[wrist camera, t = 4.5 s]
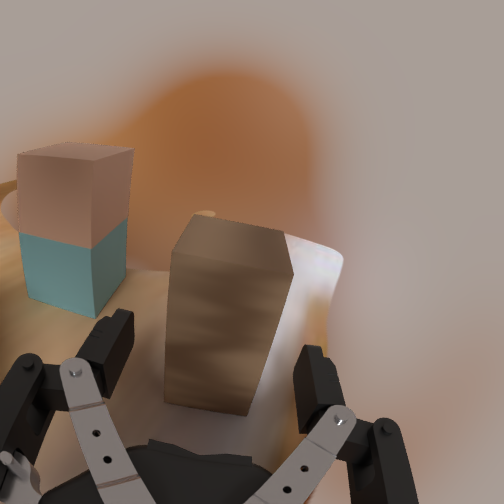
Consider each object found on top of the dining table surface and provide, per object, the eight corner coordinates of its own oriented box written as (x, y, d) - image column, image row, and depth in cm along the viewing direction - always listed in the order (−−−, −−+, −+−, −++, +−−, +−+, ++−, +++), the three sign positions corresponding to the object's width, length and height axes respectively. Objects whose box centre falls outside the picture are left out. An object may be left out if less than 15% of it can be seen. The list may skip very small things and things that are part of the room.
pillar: (164, 402, 16) (171, 251, 12) (179, 348, 21) (194, 214, 17) (246, 416, 16) (293, 274, 12) (248, 360, 21) (283, 231, 17)
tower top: (19, 232, 18) (17, 154, 16) (64, 205, 24) (66, 142, 22) (91, 249, 19) (93, 160, 16) (128, 216, 25) (134, 148, 23)
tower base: (28, 297, 20) (18, 232, 18) (66, 261, 27) (63, 205, 24) (95, 319, 21) (90, 249, 18) (125, 276, 27) (127, 216, 25)
